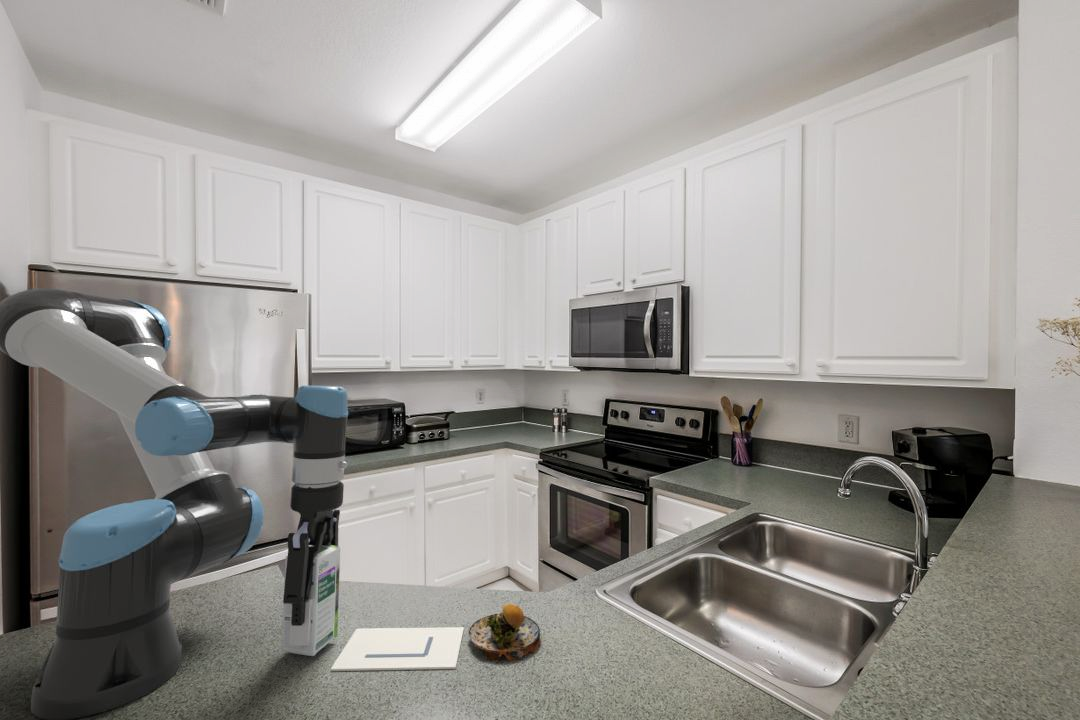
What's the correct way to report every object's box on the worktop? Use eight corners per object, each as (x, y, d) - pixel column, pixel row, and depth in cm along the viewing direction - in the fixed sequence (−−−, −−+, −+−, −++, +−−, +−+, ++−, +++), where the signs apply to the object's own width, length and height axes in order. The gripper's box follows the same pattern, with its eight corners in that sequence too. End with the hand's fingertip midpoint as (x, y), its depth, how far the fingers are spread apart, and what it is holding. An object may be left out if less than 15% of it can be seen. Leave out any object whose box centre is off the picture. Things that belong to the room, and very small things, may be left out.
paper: (330, 671, 66) (330, 668, 66) (356, 630, 77) (356, 628, 77) (455, 668, 67) (455, 666, 67) (463, 629, 78) (464, 626, 78)
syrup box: (313, 657, 68) (319, 558, 69) (279, 651, 70) (285, 554, 70) (337, 636, 74) (342, 545, 75) (305, 631, 75) (310, 541, 76)
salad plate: (494, 616, 83) (495, 574, 84) (552, 634, 78) (553, 588, 78) (452, 650, 73) (453, 601, 73) (517, 672, 67) (518, 620, 68)
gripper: (315, 498, 64) (306, 669, 62) (362, 471, 83) (356, 601, 82) (260, 497, 63) (249, 669, 62) (320, 470, 83) (313, 601, 81)
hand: (310, 630), depth 72 cm, fingers closed on syrup box, 6 cm apart
